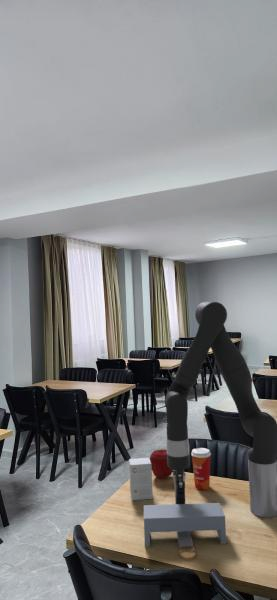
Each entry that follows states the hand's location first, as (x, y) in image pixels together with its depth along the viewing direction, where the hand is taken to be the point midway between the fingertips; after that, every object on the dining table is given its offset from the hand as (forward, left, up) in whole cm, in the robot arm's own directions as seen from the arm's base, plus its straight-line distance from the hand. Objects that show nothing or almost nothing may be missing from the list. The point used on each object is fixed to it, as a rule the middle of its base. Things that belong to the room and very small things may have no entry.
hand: (180, 504), depth 127 cm
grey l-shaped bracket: (0, +7, -5) cm, 9 cm away
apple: (+4, -34, -5) cm, 35 cm away
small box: (+13, -18, -5) cm, 23 cm away
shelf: (0, +10, -5) cm, 11 cm away
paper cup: (-11, -24, -5) cm, 27 cm away
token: (0, +18, -5) cm, 19 cm away
